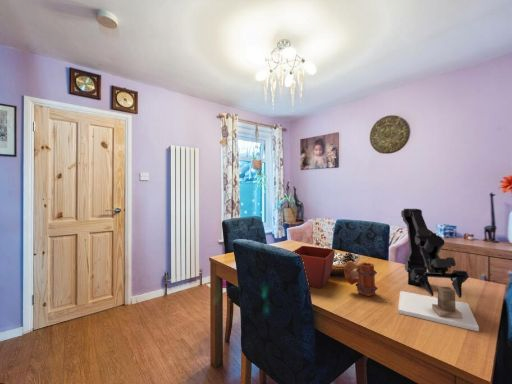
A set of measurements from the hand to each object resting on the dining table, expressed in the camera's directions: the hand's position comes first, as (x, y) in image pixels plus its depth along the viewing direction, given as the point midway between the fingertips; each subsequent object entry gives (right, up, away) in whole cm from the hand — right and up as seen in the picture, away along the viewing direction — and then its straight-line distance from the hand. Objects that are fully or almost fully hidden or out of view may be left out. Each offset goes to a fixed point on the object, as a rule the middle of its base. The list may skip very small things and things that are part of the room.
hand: (446, 296), depth 92 cm
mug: (-23, -9, +23) cm, 34 cm away
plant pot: (-42, -9, +37) cm, 57 cm away
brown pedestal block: (0, -7, 0) cm, 7 cm away
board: (0, -8, +6) cm, 10 cm away
